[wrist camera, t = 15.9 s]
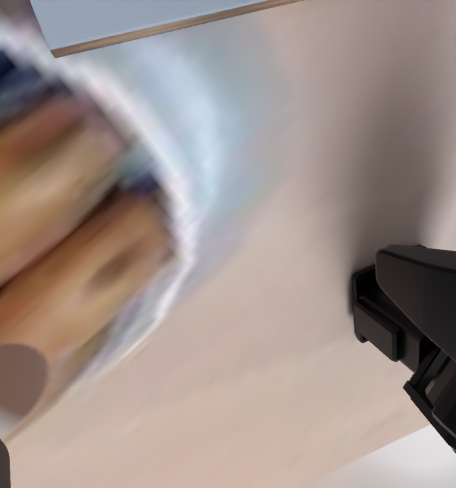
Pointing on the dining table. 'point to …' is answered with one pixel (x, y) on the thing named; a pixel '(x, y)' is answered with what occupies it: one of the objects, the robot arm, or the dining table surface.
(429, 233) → the dining table surface
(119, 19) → the slate flap
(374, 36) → the dining table surface
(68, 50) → the walnut box
